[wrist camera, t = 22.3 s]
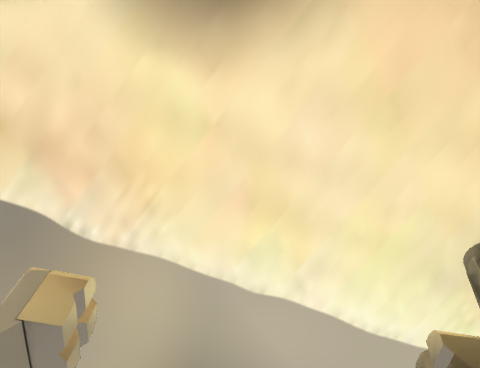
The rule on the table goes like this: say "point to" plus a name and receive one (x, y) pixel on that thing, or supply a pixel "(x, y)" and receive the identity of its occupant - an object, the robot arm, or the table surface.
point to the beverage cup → (473, 269)
